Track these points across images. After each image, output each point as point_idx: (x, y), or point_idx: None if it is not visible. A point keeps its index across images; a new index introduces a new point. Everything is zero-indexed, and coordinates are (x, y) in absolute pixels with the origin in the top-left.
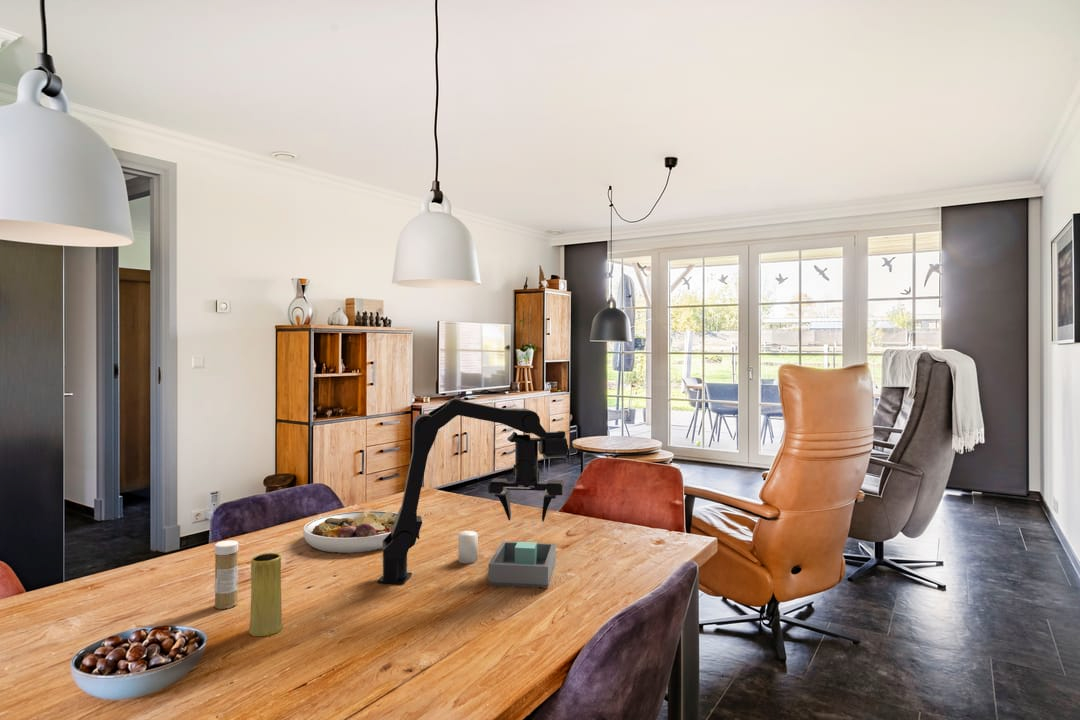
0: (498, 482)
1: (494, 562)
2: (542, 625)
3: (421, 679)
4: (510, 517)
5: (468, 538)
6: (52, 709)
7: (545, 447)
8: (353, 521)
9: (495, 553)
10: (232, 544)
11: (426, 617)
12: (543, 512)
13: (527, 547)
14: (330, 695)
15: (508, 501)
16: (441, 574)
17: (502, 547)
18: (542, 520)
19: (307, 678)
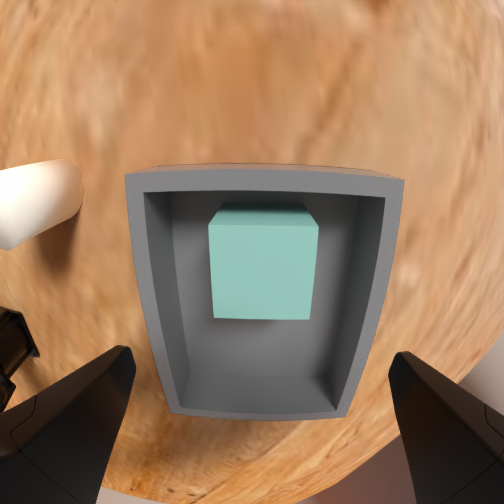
0: None
1: (178, 395)
2: (312, 462)
3: (207, 500)
4: (126, 371)
5: (17, 245)
6: None
7: None
8: None
9: (151, 339)
10: None
11: (146, 448)
12: (411, 447)
13: (274, 310)
14: (157, 498)
15: (66, 483)
16: (56, 307)
17: (150, 269)
18: (392, 382)
19: (128, 486)
